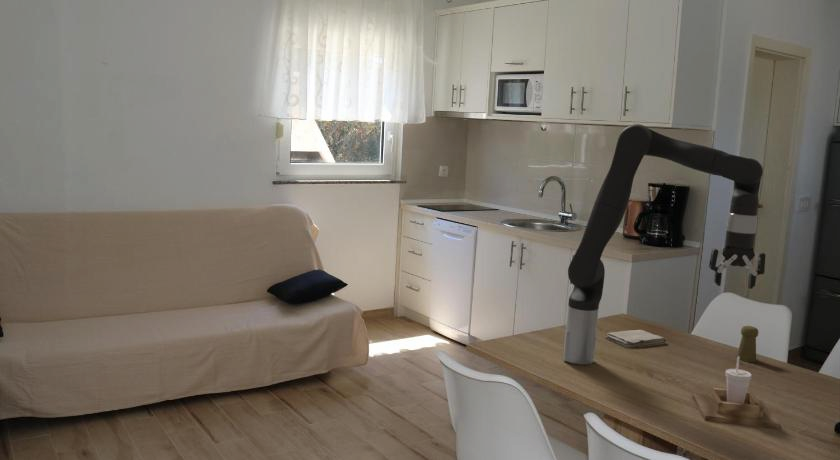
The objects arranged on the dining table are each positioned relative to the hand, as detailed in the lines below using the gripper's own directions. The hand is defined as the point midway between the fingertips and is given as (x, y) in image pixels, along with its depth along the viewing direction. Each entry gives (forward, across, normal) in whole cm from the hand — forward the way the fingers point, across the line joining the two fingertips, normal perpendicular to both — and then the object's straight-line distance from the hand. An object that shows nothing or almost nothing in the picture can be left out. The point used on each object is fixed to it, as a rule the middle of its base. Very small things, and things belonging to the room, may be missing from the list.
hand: (734, 286), depth 205 cm
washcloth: (+31, -20, +40) cm, 54 cm away
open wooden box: (+30, -1, -18) cm, 35 cm away
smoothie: (+29, -1, -18) cm, 34 cm away
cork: (+30, +15, +32) cm, 47 cm away
